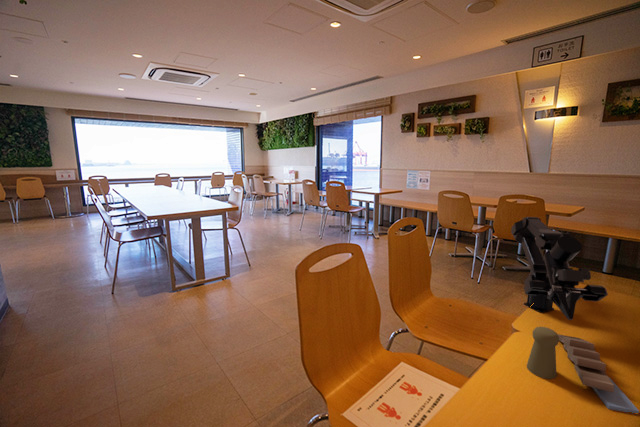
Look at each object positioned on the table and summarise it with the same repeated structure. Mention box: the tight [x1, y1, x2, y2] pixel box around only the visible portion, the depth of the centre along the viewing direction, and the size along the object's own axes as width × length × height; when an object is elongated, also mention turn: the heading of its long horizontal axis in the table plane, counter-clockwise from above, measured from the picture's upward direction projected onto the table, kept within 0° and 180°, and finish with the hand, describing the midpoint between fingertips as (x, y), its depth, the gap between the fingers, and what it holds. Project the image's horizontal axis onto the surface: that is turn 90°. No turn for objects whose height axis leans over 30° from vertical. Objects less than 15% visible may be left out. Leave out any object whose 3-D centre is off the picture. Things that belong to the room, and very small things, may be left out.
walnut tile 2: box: [563, 343, 601, 361], centre depth 78 cm, size 2×5×10 cm
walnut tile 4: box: [573, 363, 614, 393], centre depth 70 cm, size 2×5×10 cm
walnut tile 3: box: [567, 351, 607, 372], centre depth 74 cm, size 2×5×10 cm
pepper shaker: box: [526, 326, 560, 380], centre depth 74 cm, size 6×6×11 cm
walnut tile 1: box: [557, 333, 595, 351], centre depth 82 cm, size 2×5×10 cm
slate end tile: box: [591, 376, 640, 414], centre depth 67 cm, size 2×5×10 cm
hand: (570, 319), depth 85 cm, fingers closed
